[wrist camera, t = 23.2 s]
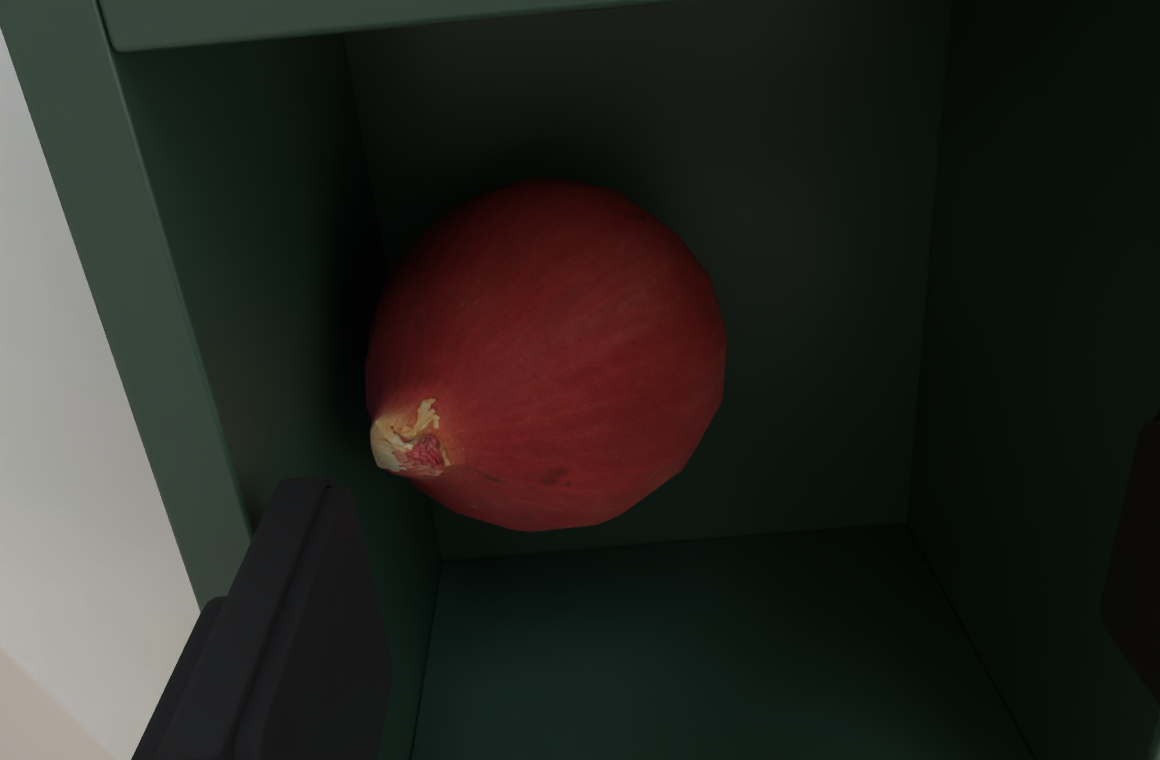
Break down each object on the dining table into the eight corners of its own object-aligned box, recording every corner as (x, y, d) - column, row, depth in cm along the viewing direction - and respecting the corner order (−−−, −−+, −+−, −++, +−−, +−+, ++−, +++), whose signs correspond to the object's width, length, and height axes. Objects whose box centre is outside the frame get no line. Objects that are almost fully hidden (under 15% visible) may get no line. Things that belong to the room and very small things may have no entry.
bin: (282, -85, 17) (-28, -46, 8) (995, -152, 17) (1514, -193, 8) (415, 569, 24) (329, 995, 15) (927, 526, 24) (1162, 932, 15)
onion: (645, 470, 21) (396, 695, 15) (487, 258, 21) (177, 393, 15) (856, 332, 17) (641, 557, 11) (661, 78, 17) (344, 159, 11)
